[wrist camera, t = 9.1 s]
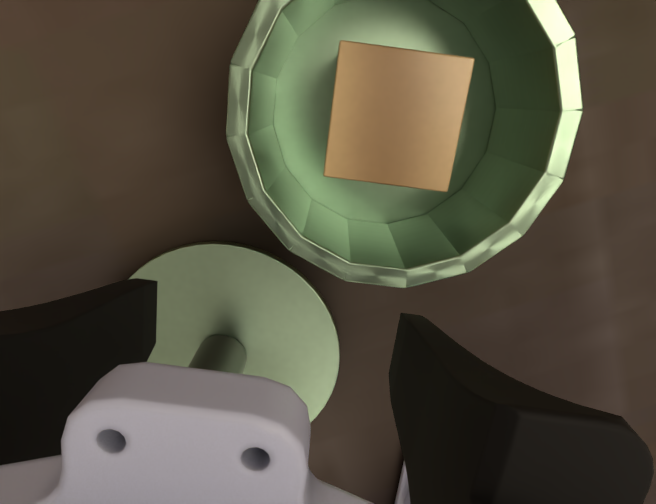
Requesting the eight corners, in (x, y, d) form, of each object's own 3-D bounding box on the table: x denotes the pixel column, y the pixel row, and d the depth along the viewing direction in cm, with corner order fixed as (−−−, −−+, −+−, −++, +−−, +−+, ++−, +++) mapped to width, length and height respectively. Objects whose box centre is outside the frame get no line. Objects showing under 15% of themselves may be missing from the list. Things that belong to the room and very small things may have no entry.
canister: (535, -5, 19) (631, -55, 13) (476, 247, 22) (530, 304, 16) (270, -41, 18) (238, -110, 12) (250, 219, 22) (217, 266, 16)
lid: (354, 252, 22) (359, 291, 18) (325, 449, 26) (322, 523, 21) (112, 222, 22) (55, 254, 17) (116, 425, 25) (69, 495, 21)
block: (445, 66, 19) (475, 57, 15) (425, 173, 21) (447, 192, 16) (338, 52, 19) (339, 39, 15) (325, 160, 20) (322, 176, 16)
